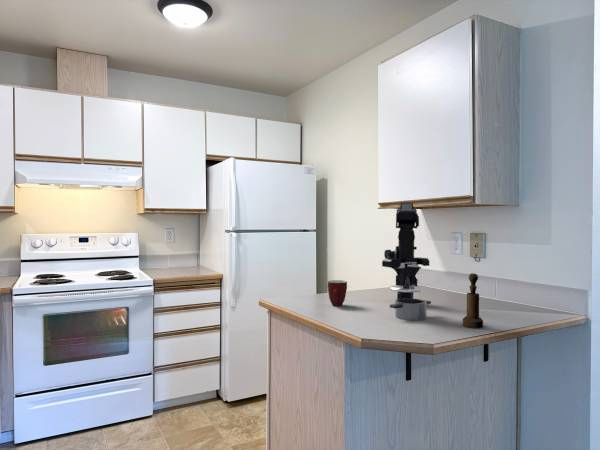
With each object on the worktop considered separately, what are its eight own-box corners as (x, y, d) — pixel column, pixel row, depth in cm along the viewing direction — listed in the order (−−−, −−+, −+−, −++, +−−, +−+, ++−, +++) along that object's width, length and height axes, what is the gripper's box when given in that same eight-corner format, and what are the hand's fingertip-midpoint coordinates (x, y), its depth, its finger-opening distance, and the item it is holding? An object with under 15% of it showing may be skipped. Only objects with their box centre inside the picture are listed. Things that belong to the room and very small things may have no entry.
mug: (347, 308, 173) (347, 284, 173) (327, 308, 174) (327, 283, 174) (346, 303, 184) (346, 280, 184) (327, 303, 185) (327, 279, 184)
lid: (406, 286, 168) (406, 273, 168) (428, 290, 158) (428, 277, 158) (383, 288, 162) (383, 275, 162) (405, 293, 152) (405, 279, 152)
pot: (417, 311, 169) (417, 296, 169) (439, 317, 159) (439, 301, 159) (381, 316, 159) (382, 300, 159) (402, 323, 150) (403, 305, 150)
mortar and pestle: (459, 323, 150) (459, 272, 150) (477, 323, 150) (477, 272, 150) (468, 328, 143) (468, 274, 143) (486, 328, 144) (487, 274, 143)
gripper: (409, 242, 171) (409, 281, 172) (372, 243, 162) (372, 284, 163) (430, 243, 162) (430, 285, 162) (392, 244, 153) (392, 288, 153)
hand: (405, 285), depth 160 cm, fingers closed on lid, 3 cm apart
